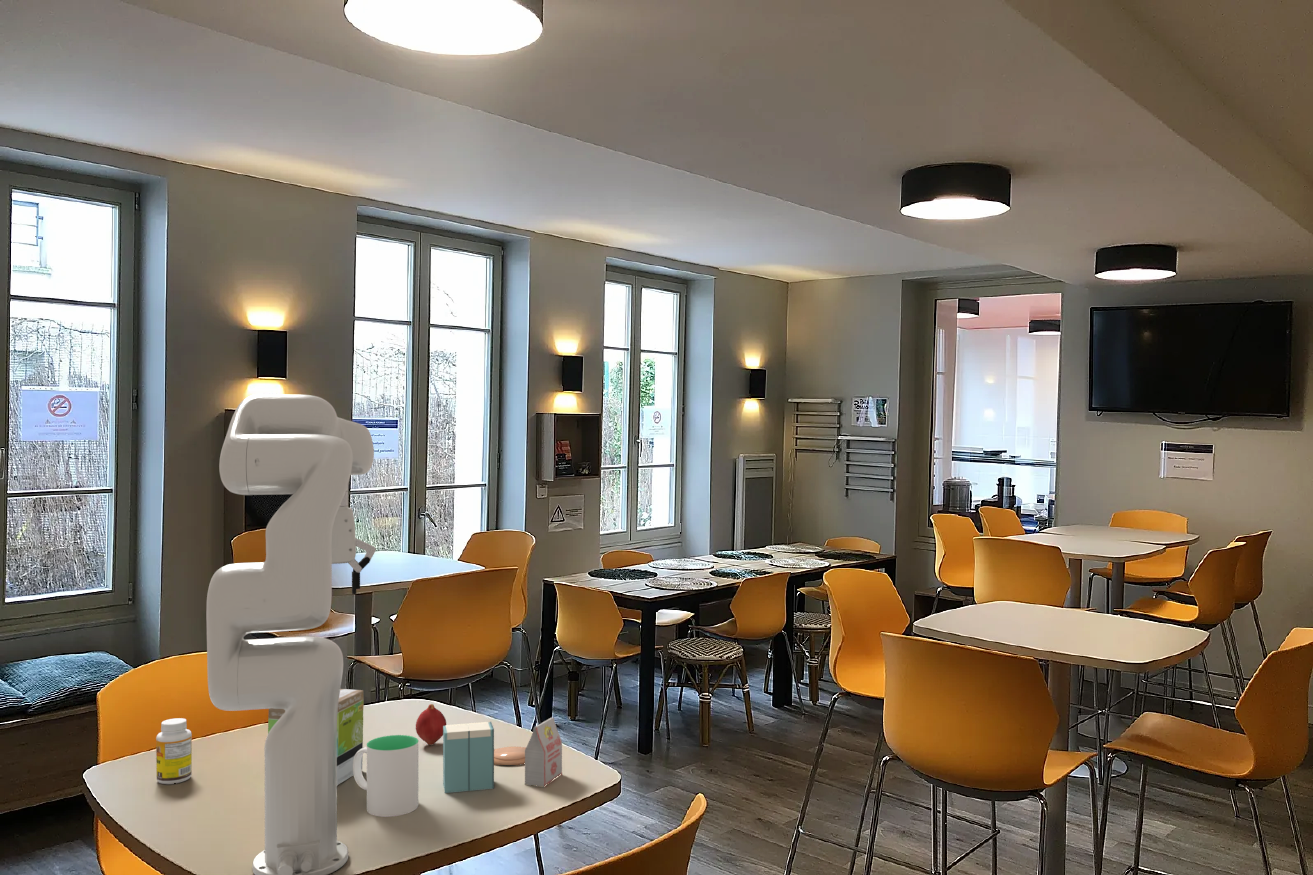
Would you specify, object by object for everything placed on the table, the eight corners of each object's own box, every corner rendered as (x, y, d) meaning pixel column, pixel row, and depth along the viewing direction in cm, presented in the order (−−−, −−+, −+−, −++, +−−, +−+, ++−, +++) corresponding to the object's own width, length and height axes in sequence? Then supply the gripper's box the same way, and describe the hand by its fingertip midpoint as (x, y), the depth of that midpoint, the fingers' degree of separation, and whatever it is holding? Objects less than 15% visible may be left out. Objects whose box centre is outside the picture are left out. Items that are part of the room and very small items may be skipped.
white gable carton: (525, 784, 171) (524, 726, 171) (543, 772, 177) (543, 716, 177) (544, 787, 169) (544, 728, 169) (561, 774, 176) (561, 718, 175)
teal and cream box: (494, 788, 168) (493, 729, 168) (444, 793, 166) (444, 732, 166) (491, 779, 173) (491, 721, 173) (443, 784, 171) (443, 725, 171)
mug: (336, 808, 160) (336, 743, 160) (369, 791, 167) (369, 730, 167) (397, 819, 155) (397, 753, 155) (428, 802, 162) (428, 738, 162)
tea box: (320, 800, 163) (320, 710, 163) (265, 796, 165) (264, 707, 165) (364, 770, 178) (364, 687, 178) (313, 766, 180) (313, 684, 180)
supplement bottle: (159, 776, 175) (159, 718, 175) (194, 773, 176) (193, 715, 176) (153, 787, 169) (153, 727, 169) (189, 783, 171) (189, 724, 171)
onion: (413, 742, 194) (413, 701, 194) (442, 738, 196) (442, 698, 196) (419, 751, 188) (419, 709, 188) (449, 747, 191) (449, 705, 191)
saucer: (539, 763, 181) (539, 758, 181) (489, 767, 179) (489, 762, 179) (532, 748, 190) (532, 743, 190) (484, 752, 188) (484, 747, 188)
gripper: (274, 503, 176) (275, 600, 176) (376, 501, 181) (376, 595, 181) (276, 500, 183) (277, 594, 183) (374, 498, 188) (374, 589, 188)
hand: (326, 594), depth 182 cm, fingers open, 9 cm apart
